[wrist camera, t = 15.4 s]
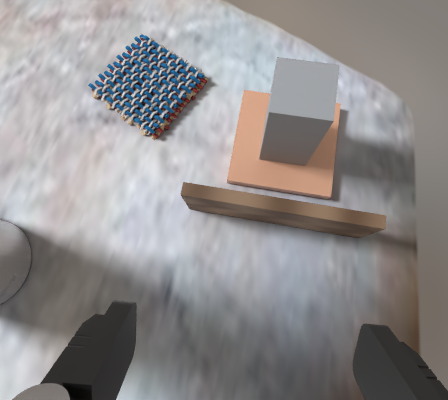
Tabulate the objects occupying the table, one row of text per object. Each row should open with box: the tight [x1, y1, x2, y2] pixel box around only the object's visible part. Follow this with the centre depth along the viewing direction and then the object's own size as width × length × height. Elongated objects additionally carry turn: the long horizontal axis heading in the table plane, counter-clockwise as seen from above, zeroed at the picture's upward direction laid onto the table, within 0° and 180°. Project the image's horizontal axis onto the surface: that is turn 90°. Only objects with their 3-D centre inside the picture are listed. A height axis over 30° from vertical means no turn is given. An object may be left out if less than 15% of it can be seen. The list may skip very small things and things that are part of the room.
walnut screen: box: [181, 182, 386, 238], centre depth 31 cm, size 18×1×6 cm, turn 80°
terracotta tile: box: [227, 90, 341, 199], centre depth 35 cm, size 11×11×1 cm
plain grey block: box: [259, 57, 339, 166], centre depth 30 cm, size 5×5×10 cm
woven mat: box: [88, 34, 208, 140], centre depth 38 cm, size 10×11×2 cm
